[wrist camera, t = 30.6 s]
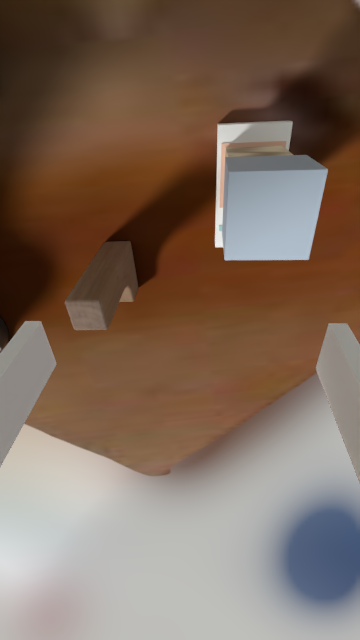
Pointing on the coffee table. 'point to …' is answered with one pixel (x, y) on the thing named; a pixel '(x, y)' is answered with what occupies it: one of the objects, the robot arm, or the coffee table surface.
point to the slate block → (271, 206)
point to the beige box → (256, 151)
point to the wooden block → (103, 287)
